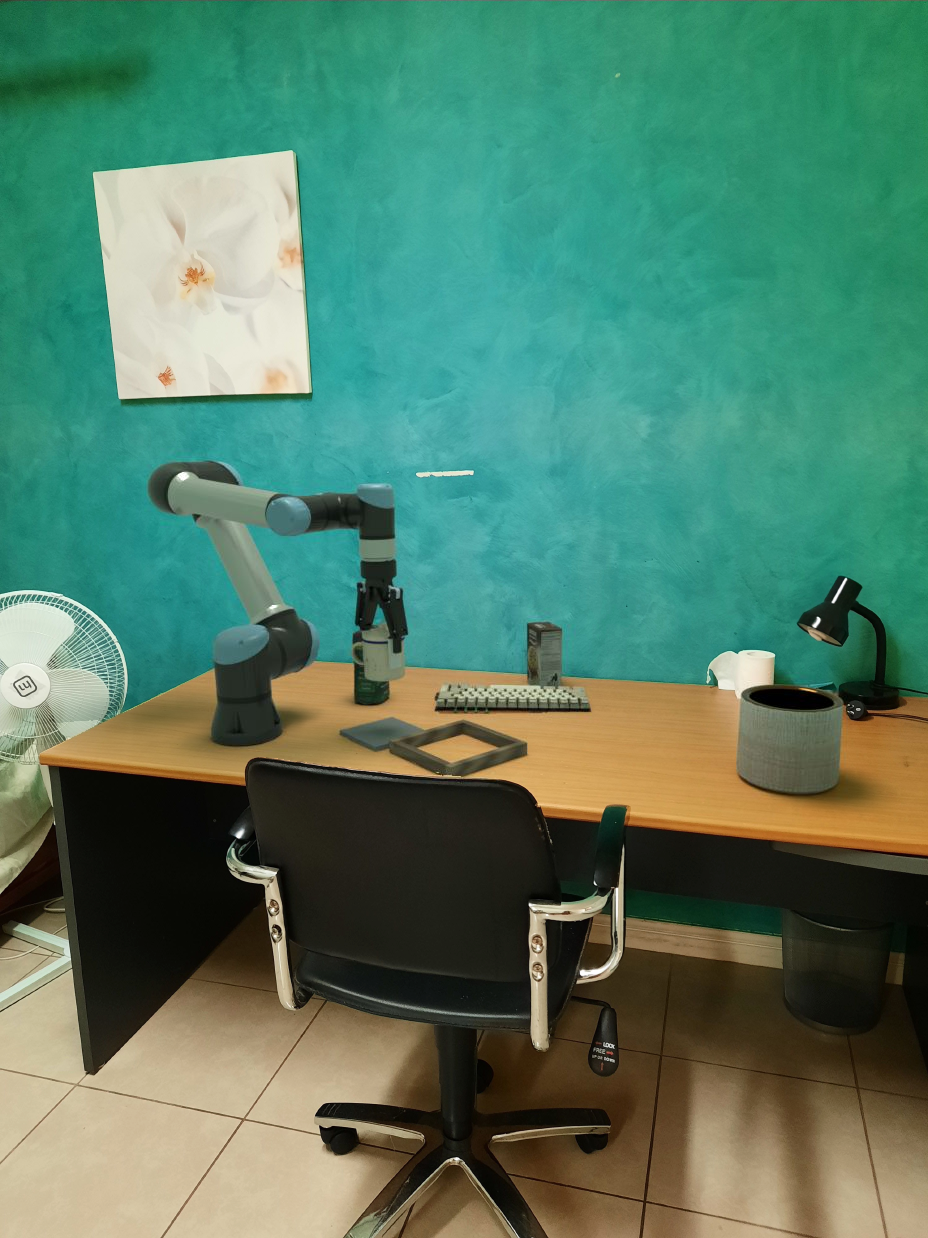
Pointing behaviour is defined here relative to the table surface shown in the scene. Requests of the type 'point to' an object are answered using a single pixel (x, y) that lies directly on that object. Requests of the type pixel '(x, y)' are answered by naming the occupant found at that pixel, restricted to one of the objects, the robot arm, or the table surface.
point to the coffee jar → (364, 687)
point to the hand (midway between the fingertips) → (382, 663)
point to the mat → (379, 732)
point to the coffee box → (544, 654)
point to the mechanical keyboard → (509, 699)
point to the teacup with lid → (378, 655)
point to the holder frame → (506, 752)
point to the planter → (789, 738)
